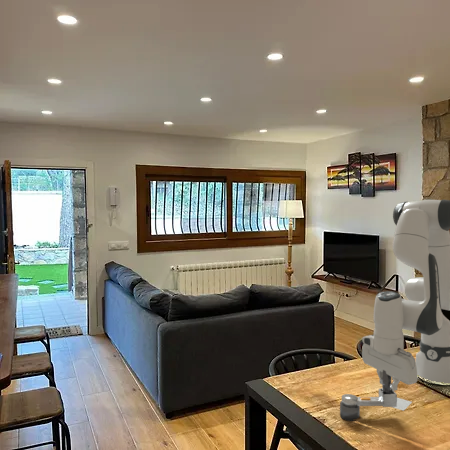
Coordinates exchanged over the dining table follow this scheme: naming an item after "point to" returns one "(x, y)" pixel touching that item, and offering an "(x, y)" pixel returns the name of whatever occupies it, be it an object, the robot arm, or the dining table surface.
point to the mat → (402, 404)
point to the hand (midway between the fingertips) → (388, 386)
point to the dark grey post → (386, 383)
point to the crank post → (349, 412)
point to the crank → (370, 400)
